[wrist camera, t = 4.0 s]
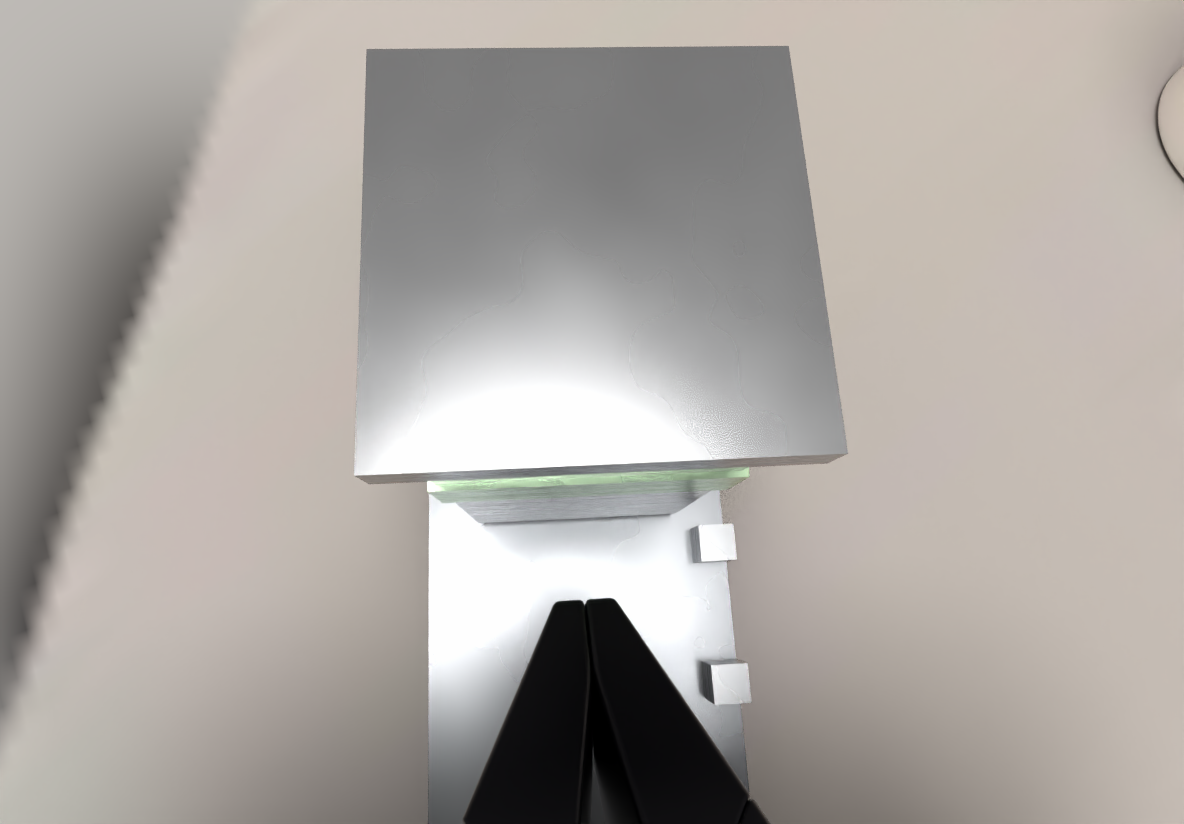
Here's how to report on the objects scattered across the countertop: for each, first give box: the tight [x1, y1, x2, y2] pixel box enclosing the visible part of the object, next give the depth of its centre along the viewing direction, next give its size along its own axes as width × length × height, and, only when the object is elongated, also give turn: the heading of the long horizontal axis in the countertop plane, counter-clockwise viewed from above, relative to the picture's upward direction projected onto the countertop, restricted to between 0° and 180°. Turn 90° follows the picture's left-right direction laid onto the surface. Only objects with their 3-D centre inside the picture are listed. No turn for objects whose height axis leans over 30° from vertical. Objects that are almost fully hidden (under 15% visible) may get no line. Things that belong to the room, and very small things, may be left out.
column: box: [354, 46, 848, 523], centre depth 12 cm, size 5×5×9 cm
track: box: [428, 490, 752, 824], centre depth 16 cm, size 24×7×4 cm, turn 3°
